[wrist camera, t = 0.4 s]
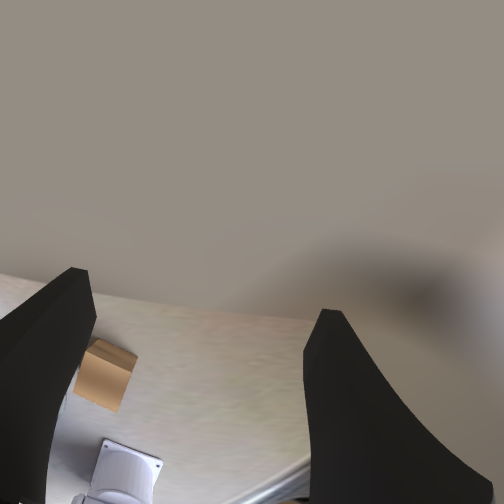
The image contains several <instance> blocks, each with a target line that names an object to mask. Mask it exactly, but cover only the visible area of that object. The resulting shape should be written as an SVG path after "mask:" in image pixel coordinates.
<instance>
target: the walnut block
mask: <svg viewBox="0 0 504 504" xmlns="http://www.w3.org/2000/svg"><path fill="white" fill-rule="evenodd" d="M137 358H138V356H136V355H133V354H131V353H129V352H127V351H124V350H122V349H120V348H118V347H116V346H114V345H112V344H110V343H107V342H105V341H103V340H101V339H98V340H97V341H96V342H95V343H93V344H92V345H91V346H90V347H89V348H88V349H87V350H86V351H85V354H84V357H83V360H82V363H81V367H80V370H79V373H78V376H77V380H76V383H75V386H74V390H73V393H75V394H77V395H79V396H81V397H83V398H85V399H87V400H90V401H92V402H94V403H96V404H98V405H100V406H102V407H105V408H107V409H109V410H111V411H114V412H116V413H117V411H118V409H119V406H120V403H121V401H122V398H123V395H124V393H125V390H126V387H127V385H128V382H129V379H130V377H131V374H132V371H133V369H134V366H135V363H136V361H137Z"/></svg>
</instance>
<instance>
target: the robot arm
mask: <svg viewBox="0 0 504 504" xmlns="http://www.w3.org/2000/svg"><path fill="white" fill-rule="evenodd" d="M96 318H97V316H96V311H95V307H94V302H93V297H92V292H91V287H90V281H89V276H88V271H87V270H82V269H78V268H73V267H71V268H69V269H68V270H66V271H65V272H63V273H62V274H61V275H59V276H58V277H57V278H56V279H54V280H52V281H51V282H50V283H49V284H47V285H46V286H45V287H43V288H42V289H41V290H39V291H38V292H37V293H35V294H34V295H33V296H32V297H30V298H29V299H28V300H26V301H25V302H24V303H23V304H21V305H20V306H19V307H17V308H16V309H14V310H13V311H12V312H10V313H9V314H8V315H6V316H5V317H4V318H2V319H1V320H0V504H19V502H20V503H22V504H45V495H46V478H47V469H48V462H49V455H50V449H51V444H52V439H53V434H54V430H55V426H56V422H57V418H58V414H59V411H60V408H61V405H62V402H63V399H64V397H65V394H66V392H67V389H68V387H69V385H70V383H71V380H72V378H73V376H74V374H75V371H76V369H77V367H78V365H79V362H80V360H81V358H82V356H83V354H84V351H85V349H86V347H87V345H88V342H89V339H90V336H91V333H92V330H93V327H94V324H95V321H96ZM303 382H304V391H305V399H306V408H307V416H308V425H309V434H310V446H311V476H310V495H309V504H497V503H496V498H495V493H494V489H493V485H492V482H490V481H489V480H487V479H486V478H485V477H483V476H482V475H480V474H479V473H477V472H476V471H474V470H473V469H472V468H470V467H468V466H467V465H466V464H465V463H464V462H462V461H461V460H460V459H459V458H458V457H456V456H455V455H454V454H452V453H451V452H450V451H449V450H448V449H447V448H446V447H445V446H444V445H443V444H442V443H440V442H439V441H438V440H437V439H436V438H435V437H434V436H433V435H432V434H431V433H430V432H429V431H428V430H427V429H426V428H425V427H424V426H423V424H422V423H421V422H420V421H419V420H418V419H417V418H416V417H415V415H414V414H413V413H412V412H411V411H410V410H409V409H408V407H407V406H406V405H405V404H404V403H403V401H402V400H401V399H400V398H399V396H398V395H397V394H396V392H395V391H394V390H393V388H392V387H391V386H390V384H389V383H388V381H387V380H386V379H385V377H384V376H383V374H382V373H381V372H380V370H379V369H378V367H377V366H376V364H375V363H374V361H373V360H372V358H371V357H370V355H369V354H368V352H367V351H366V349H365V348H364V346H363V345H362V343H361V341H360V340H359V338H358V337H357V335H356V333H355V332H354V330H353V329H352V327H351V325H350V324H349V322H348V321H347V319H346V318H345V316H344V315H343V313H342V312H341V311H338V310H330V309H322V311H321V313H320V315H319V318H318V320H317V322H316V324H315V327H314V329H313V331H312V333H311V336H310V338H309V340H308V342H307V344H306V346H305V349H304V351H303ZM105 445H107V446H108V447H106V446H105ZM157 465H160V466H157ZM162 465H163V461H162V460H160V459H158V458H155V457H152V456H149V455H146V454H143V453H140V452H138V451H135V450H132V449H130V448H127V447H124V446H122V445H119V444H117V443H115V442H112V441H110V440H107V439H106V440H104V441H103V444H102V448H101V451H100V454H99V457H98V460H97V464H96V467H95V470H94V474H93V477H92V481H91V484H90V485H91V487H92V489H91V490H90V489H89V491H88V494H87V497H86V496H85V495H84V494H81V493H80V494H79V495H77V496H75V497H74V498H73V500H72V503H71V504H152V493H153V486H154V483H155V481H156V479H157V477H158V474H159V472H160V470H161V467H162Z"/></svg>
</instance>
